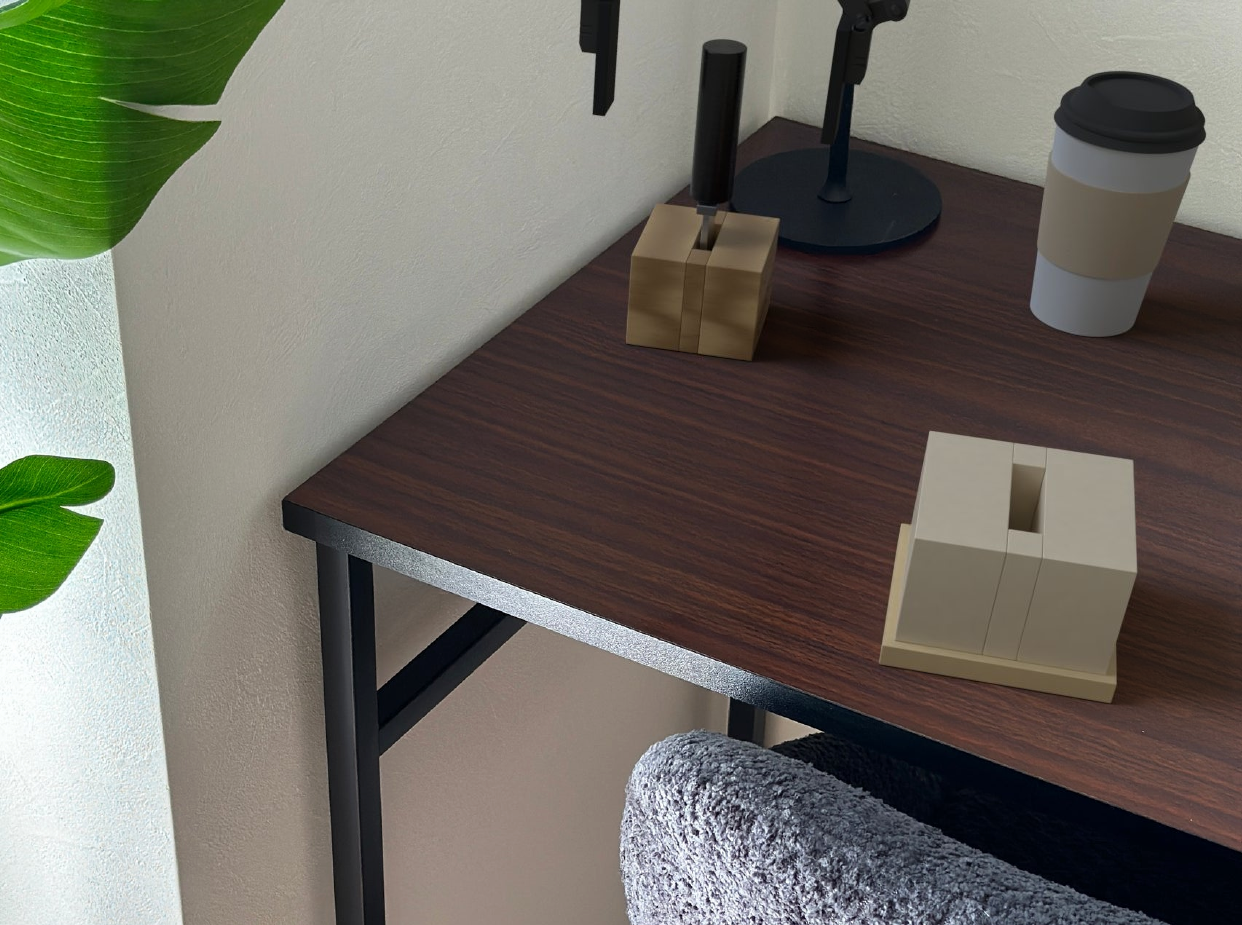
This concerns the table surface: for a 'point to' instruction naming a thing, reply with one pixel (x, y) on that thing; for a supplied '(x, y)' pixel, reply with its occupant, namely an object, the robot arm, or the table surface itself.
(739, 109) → the knife
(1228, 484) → the table surface
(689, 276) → the knife block
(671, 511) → the table surface
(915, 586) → the slotted block on base
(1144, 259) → the coffee cup
